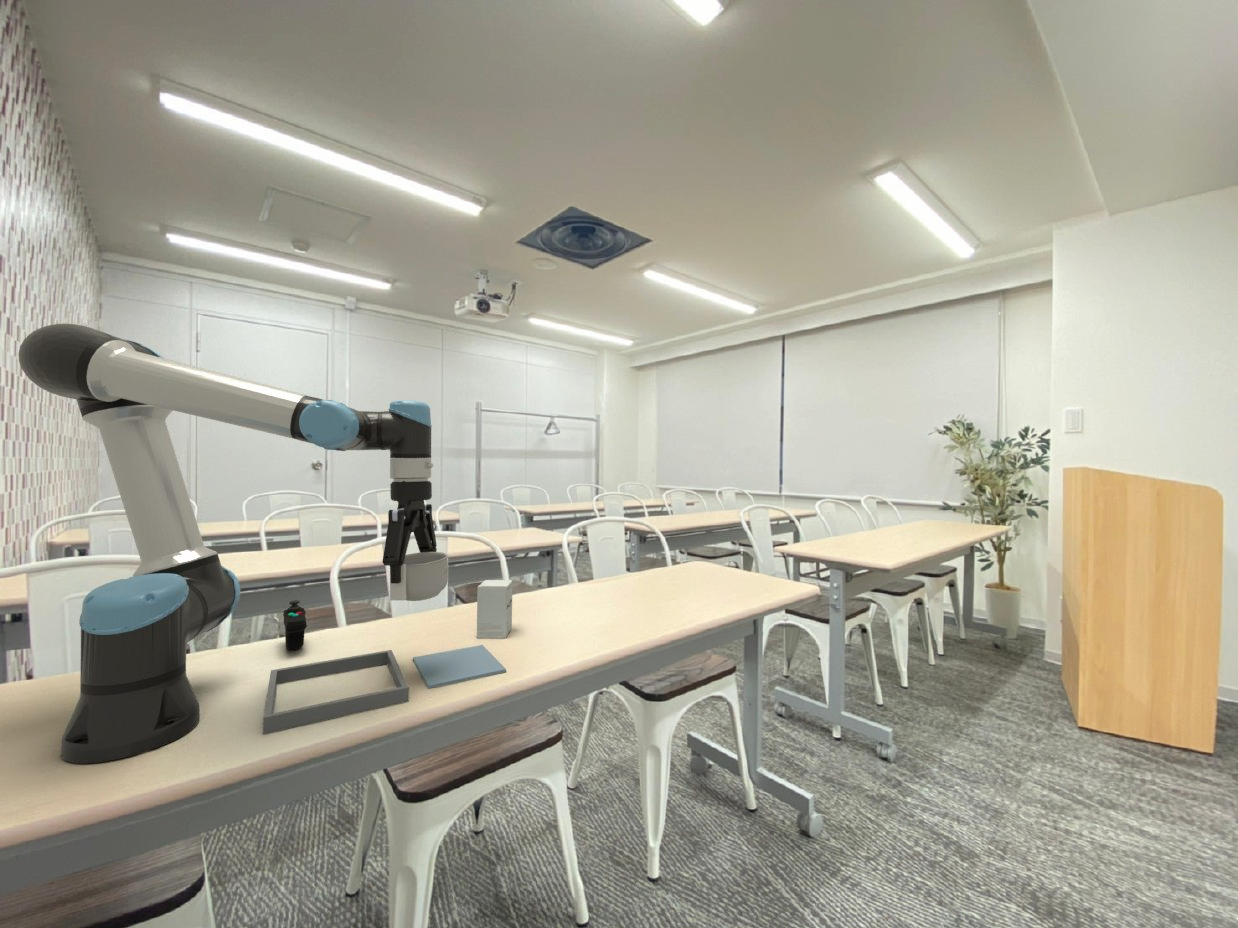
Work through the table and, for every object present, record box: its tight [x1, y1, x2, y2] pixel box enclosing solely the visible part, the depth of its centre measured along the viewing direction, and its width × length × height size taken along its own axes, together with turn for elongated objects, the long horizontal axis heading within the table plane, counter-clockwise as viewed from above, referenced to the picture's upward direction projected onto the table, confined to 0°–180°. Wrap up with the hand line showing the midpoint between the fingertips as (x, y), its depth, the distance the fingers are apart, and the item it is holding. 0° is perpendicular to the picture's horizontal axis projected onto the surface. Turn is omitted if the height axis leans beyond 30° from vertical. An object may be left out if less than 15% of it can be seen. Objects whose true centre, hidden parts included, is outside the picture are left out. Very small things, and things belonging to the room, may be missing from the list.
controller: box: [283, 599, 308, 651], centre depth 113 cm, size 4×12×10 cm, turn 36°
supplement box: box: [476, 579, 513, 639], centre depth 125 cm, size 7×7×13 cm
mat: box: [412, 644, 507, 690], centre depth 104 cm, size 15×16×1 cm
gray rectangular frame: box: [262, 649, 410, 735], centre depth 92 cm, size 21×21×2 cm
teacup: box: [403, 551, 449, 602], centre depth 100 cm, size 14×11×8 cm
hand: (412, 592), depth 99 cm, fingers closed on teacup, 11 cm apart
